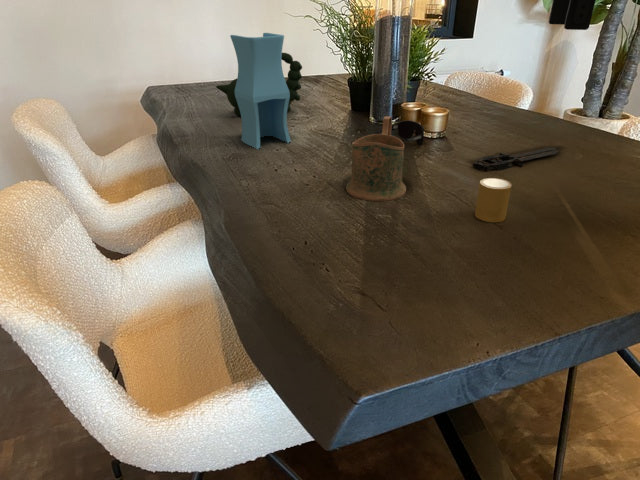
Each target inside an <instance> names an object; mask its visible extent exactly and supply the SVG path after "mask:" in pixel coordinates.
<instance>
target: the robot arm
mask: <svg viewBox="0 0 640 480" xmlns="http://www.w3.org/2000/svg"><path fill="white" fill-rule="evenodd" d="M596 2H597V1H596V0H552V2H551V3H552V4H551V7H550V13H549V17H548V24H549V25H560V26H561V25H563V28H564V29H565V30H568V31H569V30H570V31H576V30H577V31H587V30H589V28H590V25H591V21H592V17H593V14H594V13H593V12H594V9H595V5H596Z"/></svg>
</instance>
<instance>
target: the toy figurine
mask: <svg viewBox="0 0 640 480" xmlns="http://www.w3.org/2000/svg"><path fill="white" fill-rule="evenodd" d="M281 59H282V61H283V62H285V63H286V64H288V65H289V70H288V72H287V79H286V80H285V81H286V84H287V87H288V89H289V92H290V99H289V104H288V109H287V113H290V112H291V111H292V107H291V104H292V102H294V101H297V102H299V101H300V100H301V96H300V94H299V93H298V91H299V90H301V89H302V85H301V84H300V80H301V79H302V78H303V76H302V73H301V70H303V66H302V64H301V63H300V61H298V60H294V58H293V56H292V55H291V54H290V53H287V52H282V58H281ZM237 78H238V77H237ZM237 78H234V79H233V80H231V81H230V83H228V84H219V85H216V86H215V88H217V89H218V90H219V91H221V92H222V93H223V94H225V95H226V98H227V101H228V103H229V104H230V105H231V106H232V107H233V113H234V115H235V116H237V117H241V113H240V110H239V106H238V103H237V100H236V97H235V87H236V83H237Z"/></svg>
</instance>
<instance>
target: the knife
mask: <svg viewBox="0 0 640 480" xmlns="http://www.w3.org/2000/svg"><path fill="white" fill-rule="evenodd" d="M559 150H560V148H557V147H556V148H555V147H547V148H542V149H537V150H532V151H528V152H523V153H518V154H514V155H513V154H512V155H511V154H510V153H506V152H499V155H488V156H485V157H484V156H483V157H481V158H480V159H478V160H474V161H473V162H472V167H474V169H476V170H484V172H489V171H501V170H502V171H503V170H506V169H509V168H511V167H513V166H518V167H520V168H523V166H524V165H523V164H524V162H526V161H530V160H534V159H540V158H543V157H548V156H553V155H556V154H558V152H559Z"/></svg>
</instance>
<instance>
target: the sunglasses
mask: <svg viewBox="0 0 640 480" xmlns="http://www.w3.org/2000/svg"><path fill="white" fill-rule="evenodd" d="M395 130H397V134H398V137H400V138H401V139H400V140H401V141H402V142H403V143H404V142H408V143H412V142H415V141H416V145H417V146H423V143H424V139H425V129H424V126H423V125H422V124H421V123H419V122H417V121H414V120H409V119H408V120H401V121H400V122H399V123H396V124H394V125H392V127H391V132H392V131H395ZM381 133H382V129H381V130H378V131H376V132H374V133H373V134H381ZM414 134H415V135H414ZM413 135H414V136H413Z"/></svg>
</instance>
